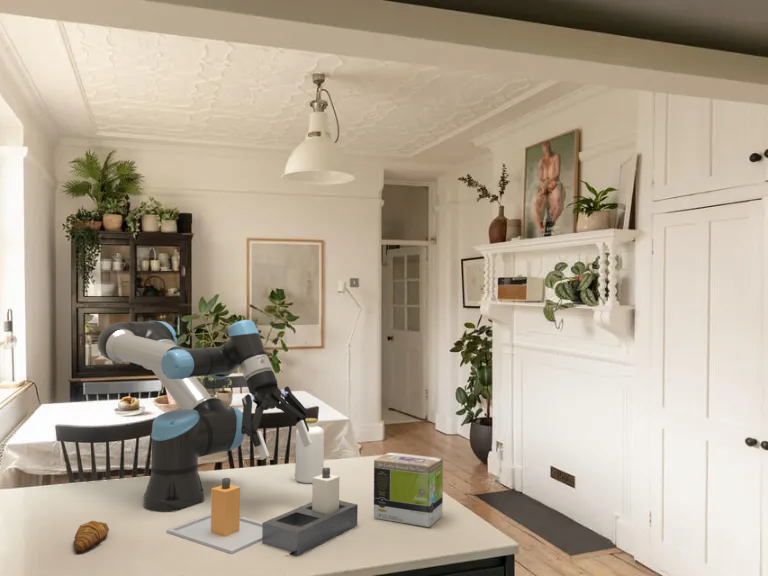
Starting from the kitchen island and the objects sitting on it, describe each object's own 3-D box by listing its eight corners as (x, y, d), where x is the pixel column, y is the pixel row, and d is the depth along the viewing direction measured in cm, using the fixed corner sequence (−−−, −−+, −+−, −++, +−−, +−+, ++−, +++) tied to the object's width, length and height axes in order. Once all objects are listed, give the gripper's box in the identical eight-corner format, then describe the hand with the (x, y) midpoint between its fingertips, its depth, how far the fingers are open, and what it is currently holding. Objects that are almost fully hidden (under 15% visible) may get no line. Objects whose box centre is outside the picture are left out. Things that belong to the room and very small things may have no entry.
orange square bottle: (210, 532, 146) (211, 479, 147) (225, 526, 150) (226, 475, 150) (224, 536, 144) (225, 483, 144) (239, 530, 148) (240, 478, 148)
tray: (166, 535, 146) (166, 529, 146) (219, 515, 160) (219, 510, 160) (231, 556, 135) (231, 551, 135) (283, 533, 148) (283, 528, 148)
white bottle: (318, 485, 185) (319, 422, 186) (291, 483, 187) (292, 421, 187) (326, 477, 194) (327, 417, 194) (300, 475, 195) (301, 416, 195)
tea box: (443, 516, 162) (444, 457, 162) (429, 529, 152) (429, 466, 153) (388, 506, 168) (389, 450, 168) (372, 518, 159) (373, 458, 159)
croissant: (88, 532, 148) (88, 510, 148) (118, 532, 148) (118, 510, 148) (61, 556, 135) (62, 532, 135) (94, 556, 135) (95, 532, 135)
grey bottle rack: (262, 545, 141) (262, 522, 141) (324, 517, 159) (324, 496, 159) (296, 556, 135) (297, 532, 136) (357, 525, 154) (357, 504, 154)
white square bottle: (311, 520, 151) (312, 469, 151) (323, 515, 155) (324, 465, 155) (327, 524, 149) (327, 472, 149) (338, 518, 152) (339, 468, 152)
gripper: (224, 376, 158) (253, 457, 151) (303, 362, 176) (332, 435, 169) (211, 389, 162) (238, 468, 156) (289, 374, 180) (317, 445, 174)
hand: (287, 451), depth 162 cm, fingers open, 13 cm apart
